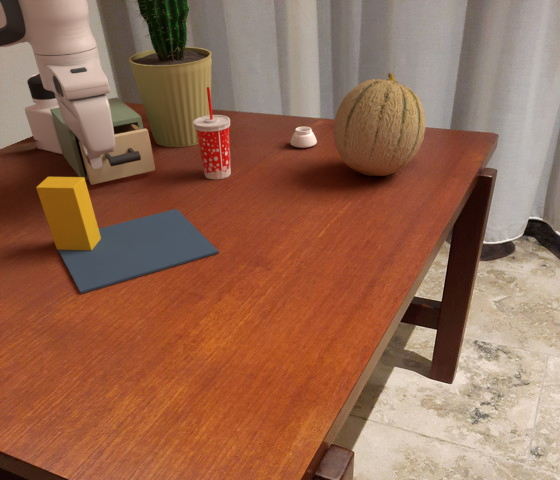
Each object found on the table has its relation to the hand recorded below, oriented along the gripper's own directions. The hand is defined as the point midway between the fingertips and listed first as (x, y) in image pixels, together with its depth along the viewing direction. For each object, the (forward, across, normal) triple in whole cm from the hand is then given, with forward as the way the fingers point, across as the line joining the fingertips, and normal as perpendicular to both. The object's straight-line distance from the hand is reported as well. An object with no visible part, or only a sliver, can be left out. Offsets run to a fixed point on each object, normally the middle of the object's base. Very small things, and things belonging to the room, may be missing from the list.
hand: (95, 166), depth 90 cm
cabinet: (+5, -14, +5) cm, 16 cm away
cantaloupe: (+5, +18, +43) cm, 47 cm away
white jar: (+5, -1, +40) cm, 40 cm away
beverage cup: (+5, +4, +20) cm, 20 cm away
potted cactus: (+5, -18, +22) cm, 29 cm away
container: (+5, -28, 0) cm, 28 cm away
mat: (+5, +22, -1) cm, 22 cm away
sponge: (+4, +17, -8) cm, 19 cm away
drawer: (+4, -7, +5) cm, 9 cm away
